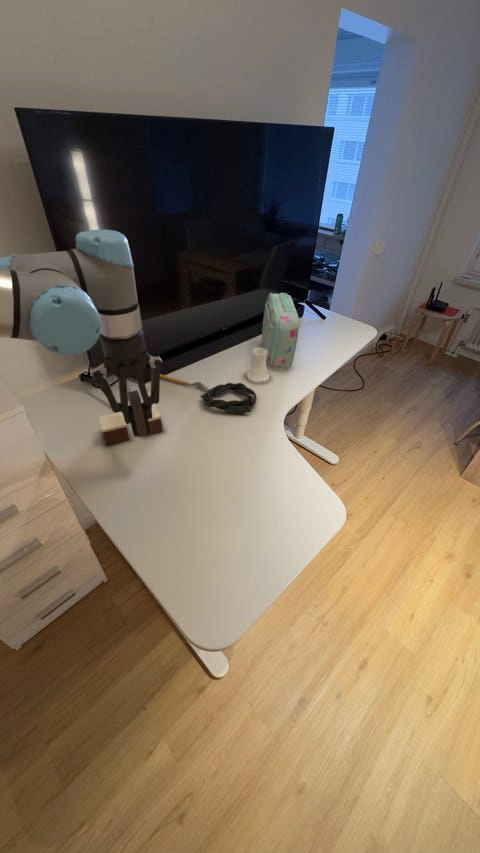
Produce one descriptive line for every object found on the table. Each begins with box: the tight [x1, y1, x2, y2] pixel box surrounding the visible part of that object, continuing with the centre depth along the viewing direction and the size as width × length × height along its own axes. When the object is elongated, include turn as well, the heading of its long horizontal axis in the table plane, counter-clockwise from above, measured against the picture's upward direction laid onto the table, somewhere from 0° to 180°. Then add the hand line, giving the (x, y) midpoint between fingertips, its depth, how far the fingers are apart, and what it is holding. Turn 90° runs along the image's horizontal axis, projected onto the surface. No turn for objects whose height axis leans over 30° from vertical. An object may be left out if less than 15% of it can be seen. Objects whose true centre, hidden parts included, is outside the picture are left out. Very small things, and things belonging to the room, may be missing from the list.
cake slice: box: [144, 403, 164, 437], centre depth 94 cm, size 5×6×6 cm
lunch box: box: [260, 292, 300, 368], centre depth 124 cm, size 27×10×21 cm, turn 3°
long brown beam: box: [127, 380, 147, 438], centre depth 78 cm, size 2×17×10 cm, turn 24°
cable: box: [200, 382, 257, 415], centre depth 105 cm, size 17×14×4 cm
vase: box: [246, 347, 270, 384], centre depth 115 cm, size 8×8×10 cm
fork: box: [160, 373, 208, 392], centre depth 112 cm, size 2×2×20 cm
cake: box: [98, 412, 131, 447], centre depth 91 cm, size 6×6×6 cm
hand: (141, 431), depth 76 cm, fingers closed on long brown beam, 2 cm apart
